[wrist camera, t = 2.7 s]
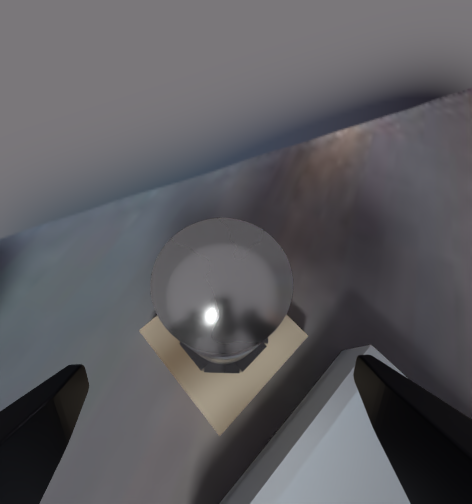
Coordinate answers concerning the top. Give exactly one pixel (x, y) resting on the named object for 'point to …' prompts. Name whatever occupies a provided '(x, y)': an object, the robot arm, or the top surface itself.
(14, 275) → the top surface
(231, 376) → the stud base
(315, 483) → the tray
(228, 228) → the grey piece
